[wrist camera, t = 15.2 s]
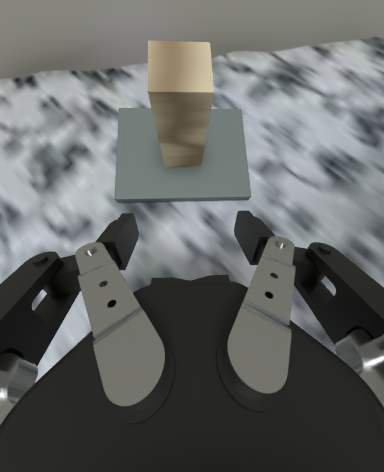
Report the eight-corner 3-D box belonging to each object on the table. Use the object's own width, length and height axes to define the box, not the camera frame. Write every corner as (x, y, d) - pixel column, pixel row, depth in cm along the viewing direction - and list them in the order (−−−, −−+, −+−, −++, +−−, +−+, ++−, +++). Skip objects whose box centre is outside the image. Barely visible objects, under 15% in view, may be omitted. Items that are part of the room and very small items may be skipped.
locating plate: (238, 115, 23) (253, 76, 18) (248, 199, 21) (267, 180, 16) (122, 114, 22) (103, 72, 17) (118, 202, 20) (95, 182, 15)
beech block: (199, 135, 21) (209, 42, 12) (201, 167, 20) (214, 92, 11) (164, 135, 21) (148, 40, 12) (164, 167, 20) (147, 91, 11)
